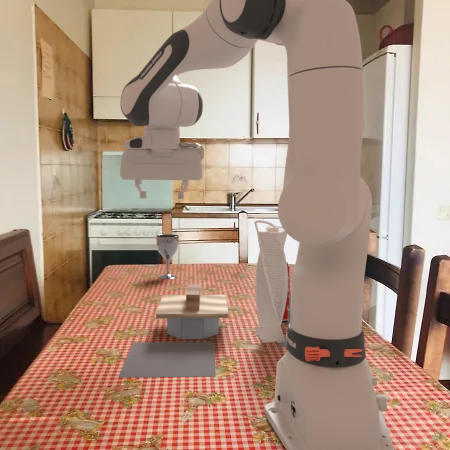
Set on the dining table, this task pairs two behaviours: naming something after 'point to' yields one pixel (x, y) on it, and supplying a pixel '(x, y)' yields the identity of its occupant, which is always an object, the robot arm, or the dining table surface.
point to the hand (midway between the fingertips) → (162, 198)
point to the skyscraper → (271, 284)
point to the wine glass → (167, 250)
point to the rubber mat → (170, 360)
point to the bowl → (192, 327)
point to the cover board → (205, 307)
